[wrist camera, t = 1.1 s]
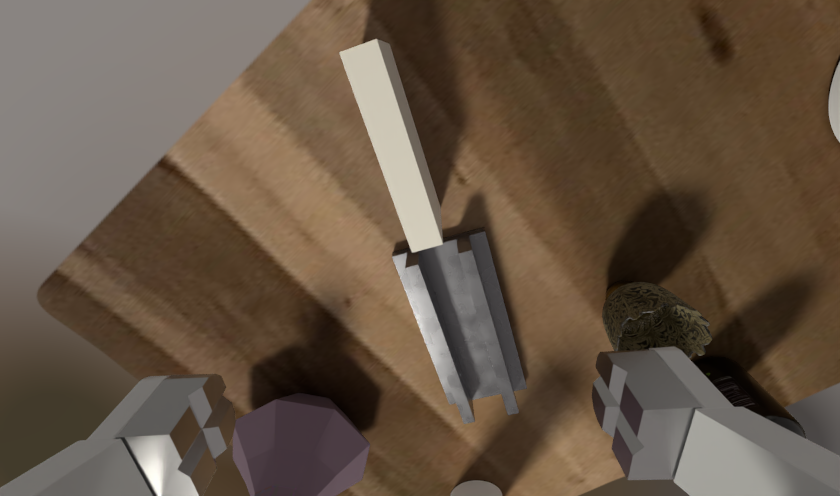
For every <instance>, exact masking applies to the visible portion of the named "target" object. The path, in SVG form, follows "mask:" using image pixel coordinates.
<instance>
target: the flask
mask: <svg viewBox="0 0 840 496" xmlns="http://www.w3.org/2000/svg"><path fill="white" fill-rule="evenodd" d="M369 447H370V444H369V442H368V441H367V440H366V439H365V437H364V436H363V435H362V434H361V433H360V431H359V430H358V429H357V428H356V426H355V425H354V424H353V423H352V422H351V420H350V419H349V418H348V417H347V416H346V415H345V414H344V413H343V412H342V411H341V410H340V409H339V408H338V407H337V406H336V405H335V404H334V403H333V402H332V401H331V400H330V399H329V398H326V397H320V396H315V395H309V394H303V393H296V394H293V395H289V396H286V397H282V398H279V399H276V400H274V401H272V402H270V403H268V404H266V405H264V406H262V407H260V408H258V409H256V410H254V411H252V412H250V413H248V414H246V415H244V416H243V417H241V418H239V419H237V420H236V423H235V428H234V433H233V460H234V462H235V464H236V465H237V467H238V469H239V471H240V473H241V475H242V477H243V479H244V481H245V483H246V485H247V487H248V491H249V493H250V496H336V495H338V494H339V493H341V492H343V491H344V490H346V489H347V488H349V487H351V486H352V485H354V484H356V483H357V482H359V481H360V480H362V478H363V473H364V469H365V465H366V460H367V456H368V452H369Z"/></svg>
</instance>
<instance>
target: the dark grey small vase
mask: <svg viewBox="0 0 840 496" xmlns="http://www.w3.org/2000/svg"><path fill="white" fill-rule="evenodd" d="M602 318H603V324H604V327H605V330H606V333H607V335H608V338H609V340H610V342H611V345H612V347H613V349H614V351H624V350H639V349H649V348H662V347H676V348H678V349H680V350H681V351H682V352H683V353H684V354H685V355H686V356H687V357H688V358H691V354H692V353H693V352H695V353H697V354H698V356H702V355H704V354H705V348H704V346H703V345H707V344H709V343H710V342H711V340H712V336H711V334H710V331H709V330H708V328H707V327H706V325H707V326H708V325H710V323H709V322H708V321H707V320H706V319H704V318H703V317H702V314H701V313H700V312H699V311H697V310H695V309H694V308H692V307H691V306H689V305H688V304H687V303H685V302H684V301H682V300H681V299H680V298H678V297H677V296H675V295H674V294H673V293H671V292H669V291H668V290H666V289H664V288H662V287H660V286H658V285H655V284H652V283H647V282H634V281H629V280H623V281H619V282H617V283H615V284H613V285H612V286H611V287H610V288H609V289H608V291H607V293H606V302H605V304H604V307H603V312H602Z"/></svg>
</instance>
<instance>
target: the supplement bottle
mask: <svg viewBox="0 0 840 496" xmlns="http://www.w3.org/2000/svg"><path fill="white" fill-rule="evenodd" d="M694 364H695V365H696V367H697V368H698V369H699V370H700V371H701V372H702V373H703V374H704V375H705V376H706V377H707V378H708V379H709V380H710V382H711V383H712V384H713V385H714V386H715V387H716V388H717V389H718V390H719V391H720V392H721V393H722V394H723V396H724V397H725V398H726V399H727V400H728V401H729V402H730V403H731V404H732V405H733V406H734V407H744V408H746V409H748V410H750V411H752V412H754V413H756V414H758V415H760V416H762V417H764V418H766V419H768V420H770V421H772V422H774V423H776V424H778V425H780V426H782V427H784V428H786V429H788V430H790V431H792V432H793V433H795V434H797V435H799V436H801V437H803V438H805V439H806V434H805V431H804V429H803V427H802V426H801V425H800V423H799V422H798V421H797V420H796V419H795V418H794V417H793V416H792V415H791V414H790V413H789V412H788V411H787V410H786V409H785V408H784V407H783V406H782V405H781V404H780V403H779V402H778V401H777V400H776V399H775V398H773V397H772V396H771V395H770V394H769V393H768V392H767V391H766V390H765V389H764V388H763V387H762V386H761V385H760V384H759V383H758V382H757V381H756V380H755V379H754V378H753V377H752V376H751V375H750V374H749V373H748V372H747V371H746V370H745V369H744V368H742V367H741V366H740V365H739V364H738V363H737V362H735V361H733V360H731V359H729V358H725V357H708V358H704V359H701V360H698V361H696V362H694Z"/></svg>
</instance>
